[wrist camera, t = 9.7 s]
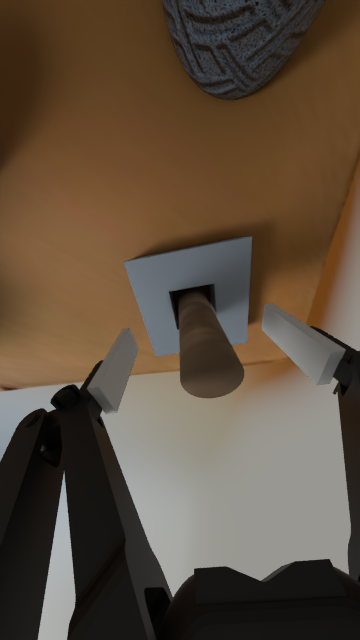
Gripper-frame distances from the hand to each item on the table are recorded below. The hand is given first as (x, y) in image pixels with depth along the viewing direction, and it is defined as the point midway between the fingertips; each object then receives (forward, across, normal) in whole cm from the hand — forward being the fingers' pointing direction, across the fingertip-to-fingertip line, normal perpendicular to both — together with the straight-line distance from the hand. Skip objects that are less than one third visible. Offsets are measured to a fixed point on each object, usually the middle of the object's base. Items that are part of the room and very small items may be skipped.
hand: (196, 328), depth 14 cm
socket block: (+9, 0, 0) cm, 9 cm away
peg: (+9, 0, 0) cm, 9 cm away
